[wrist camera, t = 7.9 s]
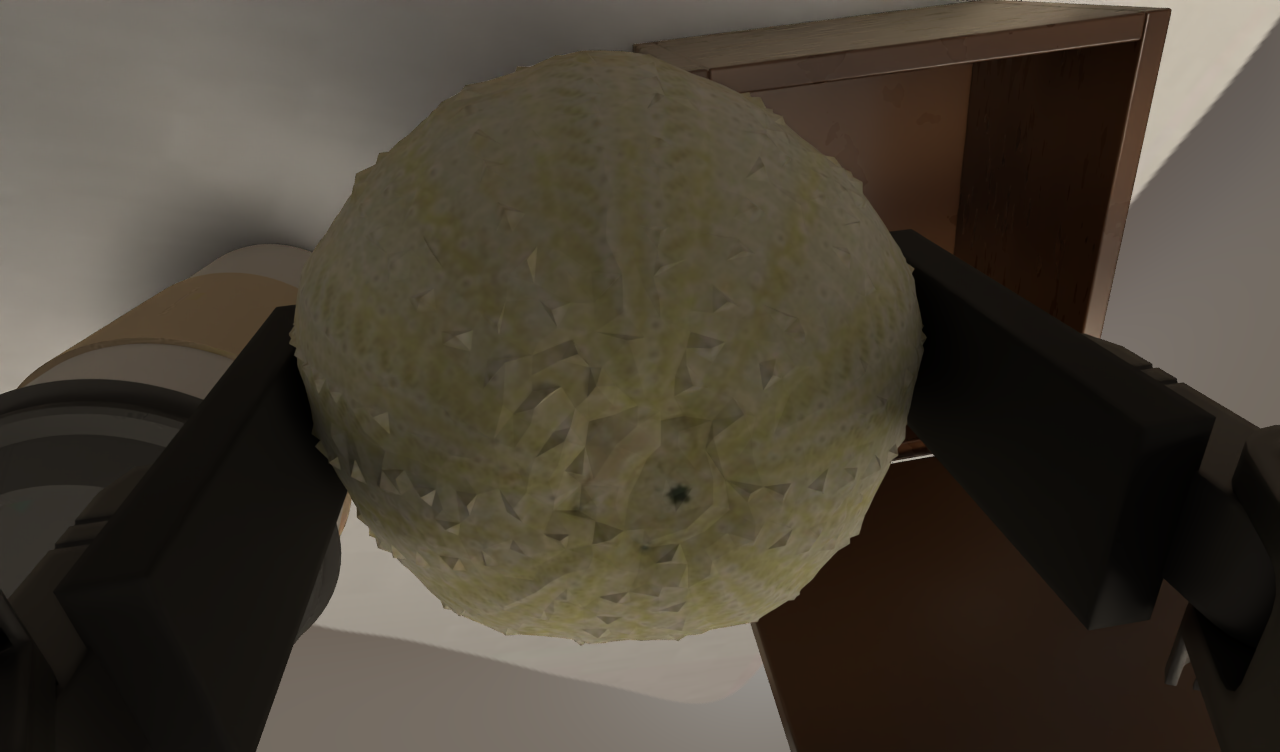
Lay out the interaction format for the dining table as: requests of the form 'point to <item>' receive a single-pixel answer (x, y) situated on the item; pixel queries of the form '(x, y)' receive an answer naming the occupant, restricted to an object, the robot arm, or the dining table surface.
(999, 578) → the lid
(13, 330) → the dining table surface
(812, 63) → the chest
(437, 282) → the sea urchin shell
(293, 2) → the dining table surface
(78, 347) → the coffee cup
